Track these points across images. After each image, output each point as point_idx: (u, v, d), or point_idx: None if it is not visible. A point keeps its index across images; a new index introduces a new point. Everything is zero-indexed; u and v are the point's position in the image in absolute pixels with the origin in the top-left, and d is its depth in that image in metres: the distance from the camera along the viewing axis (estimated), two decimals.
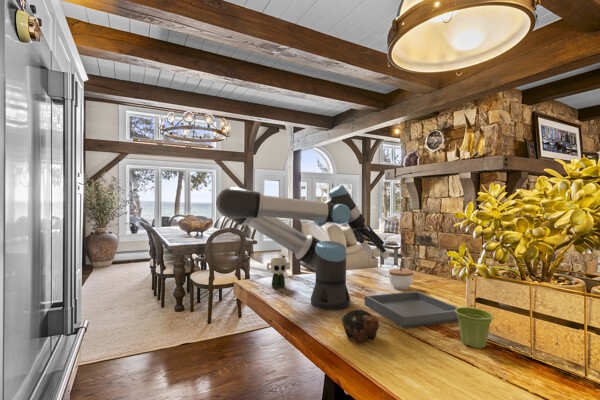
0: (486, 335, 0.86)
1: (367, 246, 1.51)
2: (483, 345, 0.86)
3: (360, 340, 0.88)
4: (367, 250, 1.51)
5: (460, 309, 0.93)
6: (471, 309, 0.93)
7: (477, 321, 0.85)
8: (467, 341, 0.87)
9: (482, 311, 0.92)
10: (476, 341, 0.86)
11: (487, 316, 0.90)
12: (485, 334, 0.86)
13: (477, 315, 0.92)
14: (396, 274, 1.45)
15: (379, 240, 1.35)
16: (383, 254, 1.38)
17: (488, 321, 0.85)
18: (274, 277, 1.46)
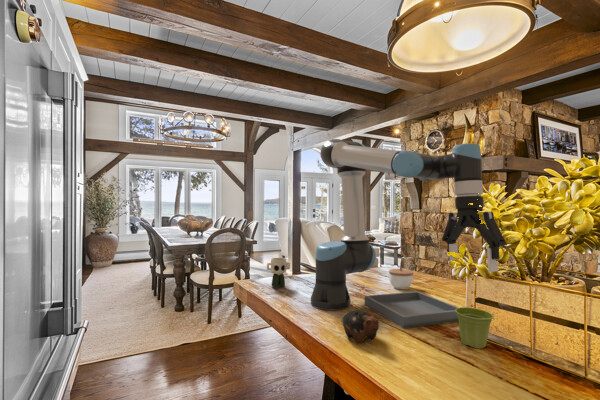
0: (486, 335, 0.86)
1: (455, 252, 1.01)
2: (483, 345, 0.86)
3: (360, 340, 0.88)
4: (453, 258, 1.01)
5: (460, 309, 0.93)
6: (471, 309, 0.93)
7: (477, 321, 0.85)
8: (467, 341, 0.87)
9: (482, 311, 0.92)
10: (476, 341, 0.86)
11: (487, 316, 0.90)
12: (485, 334, 0.86)
13: (477, 315, 0.92)
14: (396, 274, 1.45)
15: (500, 237, 0.87)
16: (492, 263, 0.88)
17: (488, 321, 0.85)
18: (274, 277, 1.46)
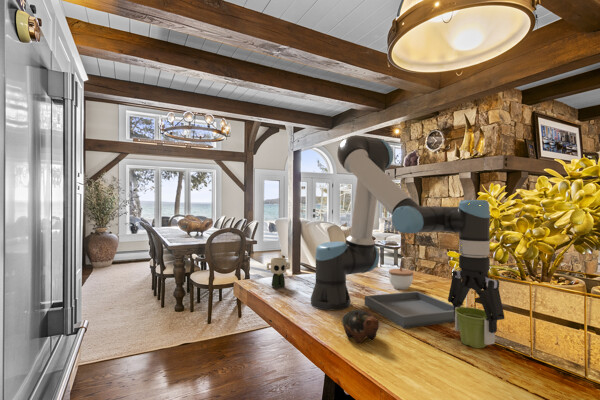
0: None
1: None
2: (483, 345, 0.86)
3: (360, 340, 0.88)
4: None
5: (460, 309, 0.93)
6: (471, 309, 0.93)
7: (477, 321, 0.85)
8: (467, 341, 0.87)
9: (482, 311, 0.92)
10: (476, 341, 0.86)
11: None
12: None
13: (477, 315, 0.92)
14: (396, 274, 1.45)
15: (500, 311, 0.82)
16: (488, 335, 0.84)
17: None
18: (274, 277, 1.46)
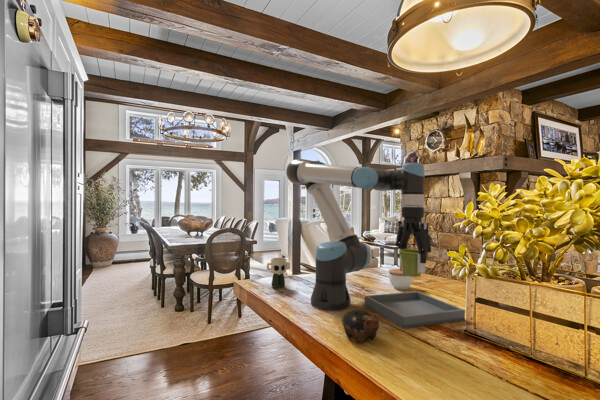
0: None
1: None
2: (417, 274, 1.12)
3: (360, 340, 0.88)
4: None
5: (403, 250, 1.19)
6: (412, 250, 1.19)
7: (412, 255, 1.11)
8: (406, 272, 1.13)
9: None
10: (412, 271, 1.12)
11: None
12: None
13: None
14: (396, 274, 1.45)
15: (428, 245, 1.07)
16: (420, 265, 1.09)
17: None
18: (274, 277, 1.46)
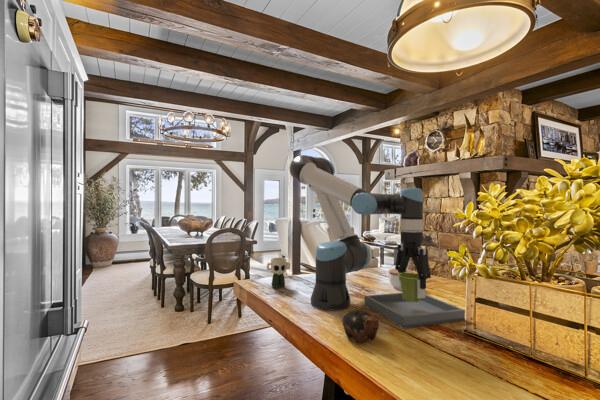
0: None
1: None
2: (417, 299, 1.12)
3: (360, 340, 0.88)
4: None
5: (403, 274, 1.19)
6: (412, 274, 1.19)
7: (412, 280, 1.11)
8: (406, 297, 1.13)
9: None
10: (411, 296, 1.12)
11: None
12: None
13: (416, 278, 1.18)
14: (396, 274, 1.45)
15: (427, 271, 1.08)
16: (420, 291, 1.10)
17: None
18: (274, 277, 1.46)
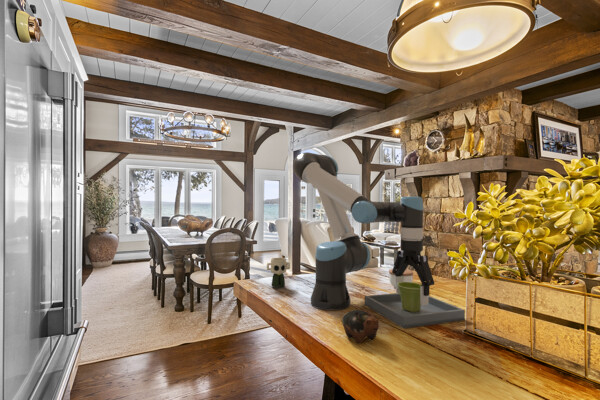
0: (419, 302, 1.12)
1: None
2: (417, 309, 1.12)
3: (360, 340, 0.88)
4: None
5: (402, 283, 1.19)
6: (411, 283, 1.19)
7: (412, 291, 1.11)
8: (405, 307, 1.13)
9: (419, 284, 1.17)
10: (411, 306, 1.12)
11: None
12: (418, 301, 1.12)
13: (415, 288, 1.18)
14: None
15: (430, 278, 1.06)
16: (423, 298, 1.08)
17: None
18: (274, 277, 1.46)
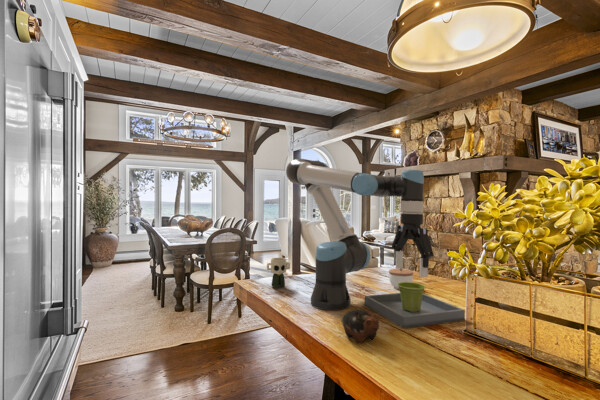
0: (419, 302, 1.12)
1: (401, 258, 1.22)
2: (417, 309, 1.12)
3: (360, 340, 0.88)
4: (398, 262, 1.21)
5: (402, 283, 1.19)
6: (411, 283, 1.19)
7: (412, 291, 1.11)
8: (405, 307, 1.13)
9: (419, 284, 1.17)
10: (411, 306, 1.12)
11: (422, 288, 1.16)
12: (418, 301, 1.12)
13: (415, 288, 1.18)
14: (396, 274, 1.45)
15: (430, 250, 1.07)
16: (422, 270, 1.08)
17: (420, 291, 1.11)
18: (274, 277, 1.46)
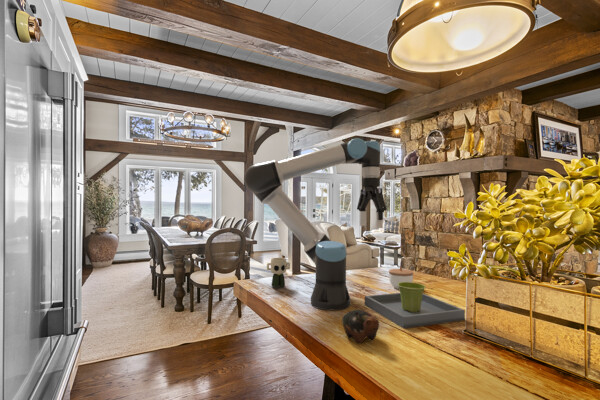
0: (419, 302, 1.12)
1: (364, 217, 1.45)
2: (417, 309, 1.12)
3: (360, 340, 0.88)
4: (362, 221, 1.44)
5: (402, 283, 1.19)
6: (411, 283, 1.19)
7: (412, 291, 1.11)
8: (405, 307, 1.13)
9: (419, 284, 1.17)
10: (411, 306, 1.12)
11: (422, 288, 1.16)
12: (418, 301, 1.12)
13: (415, 288, 1.18)
14: (396, 274, 1.45)
15: (383, 205, 1.30)
16: (378, 222, 1.31)
17: (420, 291, 1.11)
18: (274, 277, 1.46)
